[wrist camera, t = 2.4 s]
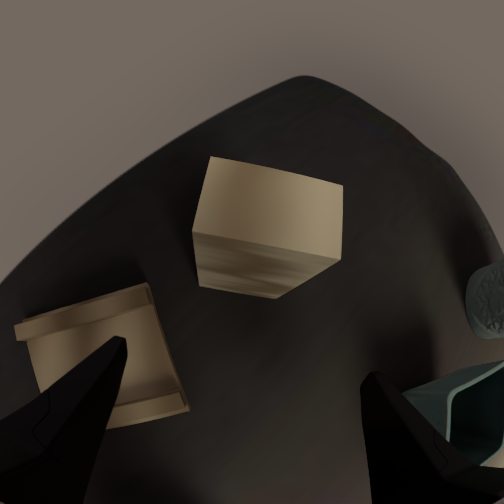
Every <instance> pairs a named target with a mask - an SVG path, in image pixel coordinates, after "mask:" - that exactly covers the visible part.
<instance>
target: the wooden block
mask: <svg viewBox="0 0 504 504" xmlns="http://www.w3.org/2000/svg"><path fill="white" fill-rule="evenodd" d="M342 215H343V186H342V185H338V184H334V183H330V182H327V181H323V180H319V179H315V178H311V177H307V176H303V175H299V174H295V173H290V172H286V171H282V170H277V169H273V168H268V167H263V166H258V165H254V164H249V163H244V162H238V161H233V160H228V159H222V158H217V157H210V161H209V165H208V169H207V172H206V176H205V180H204V184H203V188H202V192H201V196H200V200H199V204H198V208H197V212H196V216H195V220H194V225H193V229H192V235H193V243H194V251H195V259H196V266H197V273H198V280H199V286H203V287H208V288H214V289H219V290H225V291H230V292H236V293H242V294H248V295H253V296H259V297H266V298H272V299H276V298H278V297H280V296H281V295H283V294H285V293H287V292H288V291H290V290H292V289H293V288H295V287H297V286H298V285H300V284H302V283H303V282H305V281H307V280H308V279H310V278H312V277H313V276H315V275H317V274H318V273H320V272H321V271H323V270H325V269H326V268H328V267H330V266H331V265H333V264H334V263H336V262H338V261H339V260H341V245H342Z"/></svg>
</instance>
